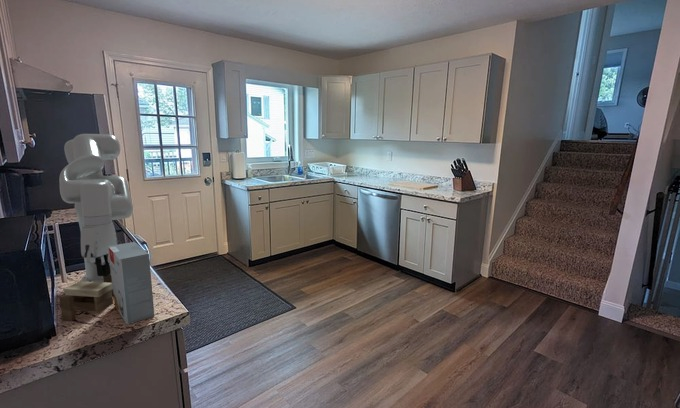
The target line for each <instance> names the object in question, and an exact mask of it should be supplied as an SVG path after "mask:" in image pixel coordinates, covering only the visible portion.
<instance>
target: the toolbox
mask: <svg viewBox="0 0 680 408" xmlns="http://www.w3.org/2000/svg"><path fill="white" fill-rule="evenodd" d="M103 279H104V282H107V283H112V277H111V275H108V276H103ZM113 297H114V295H113V289H112V290H110V291H109V292H107V293H105V294H103V295H101V296H100V297H89V296H72V295H65V294H64V295H61V296H59V297H58V298H59V306H60V313H61V321H66V322H73V321H74V320H76V313H75V312H85V313H86V312H88V313H100V312H101V311H103V310H104V309H106V308H107V307H109V306H111V305H113V304H114V298H113Z"/></svg>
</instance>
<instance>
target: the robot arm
mask: <svg viewBox="0 0 680 408" xmlns="http://www.w3.org/2000/svg"><path fill="white" fill-rule="evenodd" d="M64 143H65V144H64V146H63V147H64V148H63V149H64V155H65V158H66V160H67V163H68V164H67V165H66V166H64V168H62V170H61V171H60V174H59V180H58V182H59V193H60V197H61V199H62V201H63V202H65V203H67V204H74V212H75V215H76V218H77V221H78V225H79V230H80V254H81V257H82V258H83V259H84V261H83V262H84V268H85V269H84V270H85V275H84V276H82V277H81V279H80V281H90V282H104V279H103V276H108V275H111V273H110V266H109V265H110V260H109V252H108V246H113V245H118V237H117V233H116V232H117V231H116V230H115V228H116V227H115V224H114V222H113V221H115V220H116V221H117V220H125V219H128V218H131V216H132V215H133V213H134V206H133V205H134V204H133V201H132V197H131V192H130V189H129V183H127V180H126V179H125V178H124V177H123V176H120V175H103V174H104V173H103V168H104V167H105V161H106V160H107V161H108V160H109V161H110V160H116V159H117V158H118V157H119V155H120V153H121V145H120V141H119V139H118V138H117V137H116V136H115V135H113V134H108V133H107V134H106V133H104V134H103V133H80V134H77V135H76V136H75V137H74V138H73V139H69V140H68V141H66V142H64Z"/></svg>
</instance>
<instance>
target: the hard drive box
mask: <svg viewBox="0 0 680 408" xmlns="http://www.w3.org/2000/svg"><path fill="white" fill-rule="evenodd" d="M145 250H146V249H143V248H142V246H140V245H139V244H138V243H136V242H135V241H131V242H126V243H119V244H117V245H113V246H108V252H109V260H110V268H111V277H112V287H113V295H114V296H113V304H114V307H115V309H116V310H117V311H118V312H119V313H118V314H120V316H121V318H122V320H123V321H124V322H125V324H126V325H130V324H133V322H134V323H136V322H140V321H143V320H147V319H149V318H152V317H154V316H155V307H154V305H155V304H154V296H153V293H154V292H153V284H152V273H151V262H150V254H149V252H148V253H147V252H146V251H145Z"/></svg>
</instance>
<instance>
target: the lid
mask: <svg viewBox="0 0 680 408" xmlns="http://www.w3.org/2000/svg"><path fill="white" fill-rule="evenodd" d="M112 289H113V287H112V283H107V282H90V281H81V280H80V281H78V282H76V283H74V284H70V285H68V286H66V287H65V288H63V291H64V296H67V295H72V296H89V297H100V296H101V295H103V294H105V293H107V292H109V291H110V290H112Z"/></svg>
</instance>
